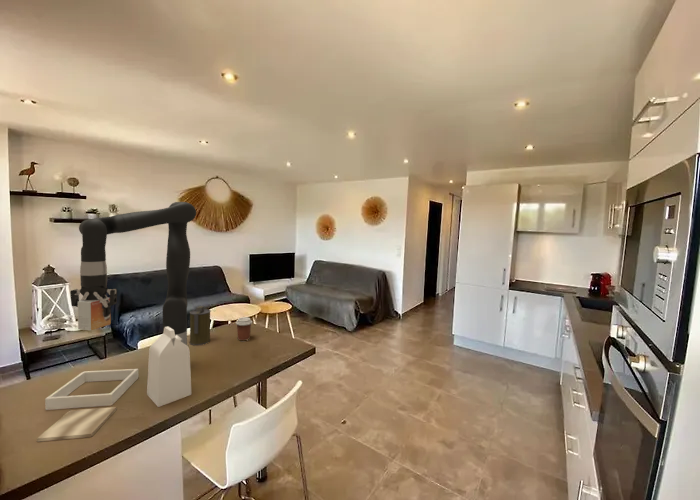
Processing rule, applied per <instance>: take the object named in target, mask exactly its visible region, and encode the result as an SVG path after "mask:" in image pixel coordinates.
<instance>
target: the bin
mask: <svg viewBox="0 0 700 500" xmlns="http://www.w3.org/2000/svg"><path fill="white" fill-rule="evenodd" d="M138 379H139V368H128V369H125V368H124V369H108V370H107V369H106V370H104V369H103V370H89V371H88V370H87V371H85V370H84V371H82V372H80V373H78V375H76V376H75V377H73V378H72V379H71V380H69V381H68V382H67V383H65V384H64V385H62V386H61V387H60V388H58V389H57V390H56V391H54V392H53V393H51V394H50V395H48V396H47V397H45V399H44V403H45V404H44V407H45V408H44V409H45V410H44V411H49V410H50V411H52V410H64V409H65V410H66V409H78V408H81V409H82V408H91V407H94V408H95V407H107V406H109V407H110V406H112V405H113V404H114V405H115V403H116V401H118V400H119V399H120V397H122V396H123V394H124V393H126V391H127V390H128V389H130V388H131V386H132V385H133V384H134V383H135V382H136V381H137V380H138ZM108 381H110V382H111V381H121V382H120V383H119V384H118V385H117V386H115V388H114V389H113V390H112V391H111V392H110V393H95V394H94V393H93V394H80V395H78V394H77V395H70V394H71V393H73V392H74V391H75V390H77V389H78V388H80V386H82V385H83V384H84V383H90V382H91V383H92V382H108Z"/></svg>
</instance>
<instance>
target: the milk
mask: <svg viewBox="0 0 700 500" xmlns="http://www.w3.org/2000/svg"><path fill="white" fill-rule="evenodd" d="M181 340H182V338H180V337H179V336H177V335H176V336H175V332H174V330H173V329H172V328H170V327H164V333H162V334H161V335H160V336H159V337H158V338H157V339H156V340H155V341H154V342H152V344H151V345H150V346H149V349H148V364H147V365H148V366H147V370H148V371H147V383H146V384H147V387H146V396H148V397H149V399H151V401H152V403H154V404H155V406H157V408H160V407H162V406H164V405H168V404H171V403H173V402H175V401H178V400H181V399H183V398H185V397H188V396H191V395H192V378H191V376H192V374H191V357H190V356H191V353H190V351H191V350H190V348H188V346H189V345H188V344H187V345H188V346H187V345H185V344H184V343H182V342H181Z"/></svg>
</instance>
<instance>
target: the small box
mask: <svg viewBox="0 0 700 500" xmlns="http://www.w3.org/2000/svg"><path fill="white" fill-rule="evenodd" d="M108 300H109V301H110V297H108ZM111 315H112V313H111V314H110V315H109V316H108V317H104V305H103V304H102V303H100V301H99V300H85V301H80V300H79V301H78V307H77V328H78V330H82V331H93V330H97V329H99V328H100V329H101V328H103V327H107V326H110V325H111V323H112V322H111V321H112V316H111Z"/></svg>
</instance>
